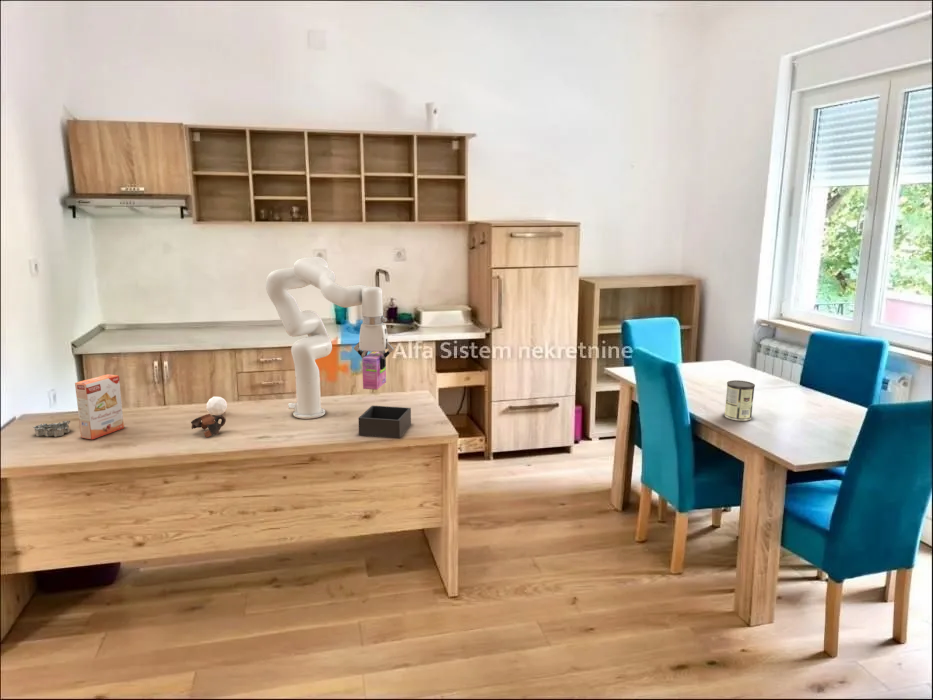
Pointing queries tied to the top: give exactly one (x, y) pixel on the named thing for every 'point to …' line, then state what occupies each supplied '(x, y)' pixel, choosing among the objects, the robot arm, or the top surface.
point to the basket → (384, 421)
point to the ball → (216, 406)
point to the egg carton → (52, 429)
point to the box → (373, 371)
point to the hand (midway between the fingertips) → (374, 367)
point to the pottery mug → (209, 424)
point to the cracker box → (99, 406)
